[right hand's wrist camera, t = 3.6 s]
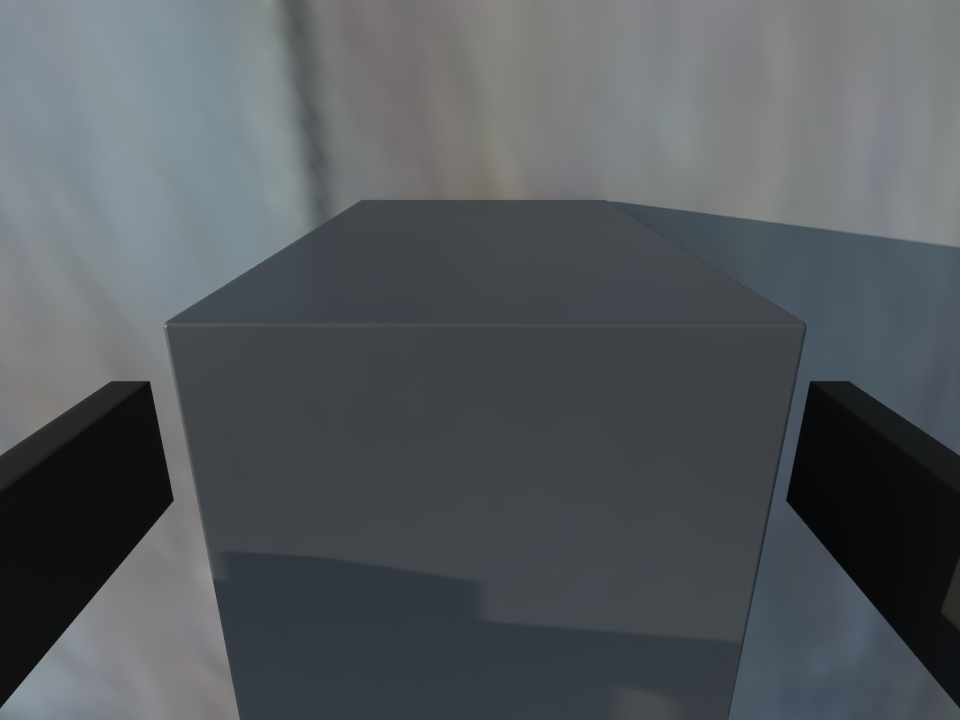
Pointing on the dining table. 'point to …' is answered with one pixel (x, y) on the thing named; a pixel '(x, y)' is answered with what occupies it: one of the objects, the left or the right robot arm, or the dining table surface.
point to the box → (484, 465)
